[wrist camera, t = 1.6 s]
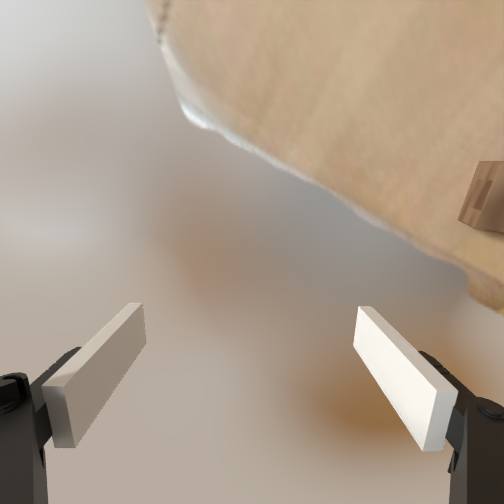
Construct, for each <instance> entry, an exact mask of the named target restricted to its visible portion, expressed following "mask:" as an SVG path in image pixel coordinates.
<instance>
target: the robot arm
mask: <svg viewBox="0 0 504 504" xmlns="http://www.w3.org/2000/svg"><path fill="white" fill-rule="evenodd" d="M145 344H146V335H145V324H144V313H143V303H133V302H130V303H129V304H128V305H127V306H126V307H124V308H123V309H122V310H121V311H120V312H119V313H118V314H117V315H116V316H115V317H114V318H113V319H112V320H111V321H110V322H109V323H107V324H106V325H105V327H103V328H102V329H101V330H100V331H99V332H98V333H97V334H96V335H95V336H94V337H93V338H92V339H91V340H90V341H88V342H87V343H86V344H85V345H84V346H83V347H76V348H74V349H73V350H71V351H69V352H67V353H65V354H64V355H63V356H62V357H61V358H60V359H59V360H58V361H56V363H54V364H53V365H52V366H51V367H50V368H49V370H46V371H45V372H44V373H43V374H42V375H41V376H40V377H38V378H37V379H36V380H35V381H34V382H33V383H32V384H31V385H29V382H28V377H27V375H26V374H24V373H21V372H20V373H11V374H7V375H3V376H0V504H48V493H47V477H46V462H45V450H44V445H45V443H46V442H47V441H48V439H49V438H50V437H51V436H52V438H53V442H54V447H55V448H76V446H77V445H78V443H79V442H80V440H81V439H82V437H83V436H84V434H85V433H86V431H87V430H88V428H89V427H90V425H91V424H92V423H93V421H94V419H95V418H96V417H97V415H98V414H99V412H100V411H101V409H102V408H103V406H104V405H105V403H106V402H107V400H108V399H109V397H110V396H111V394H112V393H113V391H114V390H115V388H116V387H117V386H118V384H119V383H120V381H121V380H122V378H123V377H124V375H125V374H126V372H127V371H128V369H129V368H130V366H131V365H132V363H133V362H134V360H135V359H136V357H137V356H138V354H139V353H140V351H141V350H142V348H143V347H144V346H145ZM353 345H354V348H355V349H356V351H357V352H358V354H359V355H360V357H361V358H362V360H363V361H364V363H365V364H366V366H367V367H368V369H369V371H370V372H371V374H372V375H373V377H374V378H375V380H376V381H377V383H378V384H379V386H380V387H381V389H382V390H383V392H384V393H385V395H386V396H387V398H388V399H389V401H390V403H391V404H392V406H393V407H394V409H395V410H396V412H397V413H398V415H399V416H400V418H401V419H402V421H403V422H404V424H405V425H406V427H407V428H408V430H409V431H410V433H411V434H412V436H413V437H414V439H415V441H416V442H417V444H418V445H419V447H420V448H421V450H422V451H443V448H444V444H445V440H446V439H447V440H448V442H449V443H450V444H451V446H452V447H453V448H454V451H453V454H452V458H451V462H450V465H449V469H448V473H450V474H451V481H450V498H449V504H504V407H502V406H501V405H499V404H497V403H495V402H493V401H491V400H488V399H485V398H482V397H476V396H475V395H474V394H473V393H472V392H471V391H469V390H468V389H467V388H466V387H465V386H464V385H463V384H462V383H461V382H460V381H459V380H457V378H455V377H454V376H453V375H452V374H450V372H449V371H448V370H447V369H446V368H443V366H442V365H441V364H440V363H439V362H438V361H437V360H436V359H435V358H433V357H432V356H430V355H428V354H427V353H425V352H423V351H416V349H414V348H413V347H412V346H411V345H410V344H409V343H408V342H407V341H406V340H405V339H404V338H403V337H402V336H401V335H400V334H399V333H398V332H397V331H396V330H395V329H394V328H393V327H392V326H391V325H390V324H389V323H388V322H387V321H386V320H385V319H383V317H382V316H381V315H379V313H377V312H376V311H375V310H374V309H373V308H372V307H371V306H359V308H358V315H357V323H356V330H355V338H354V344H353Z"/></svg>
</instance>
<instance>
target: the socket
mask: <svg viewBox="0 0 504 504" xmlns="http://www.w3.org/2000/svg"><path fill="white" fill-rule="evenodd" d="M458 220H459V221H461V222H463V223H465V224H467V225H469V226H471V227H473V228H475V229H479V230H487V231H495V232H503V233H504V161H479V163H478V166H477V169H476V172H475V174H474V177H473V180H472V182H471V185H470V188H469V191H468V193H467V196H466V199H465V201H464V204H463V207H462V210H461V212H460V215H459V218H458Z"/></svg>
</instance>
